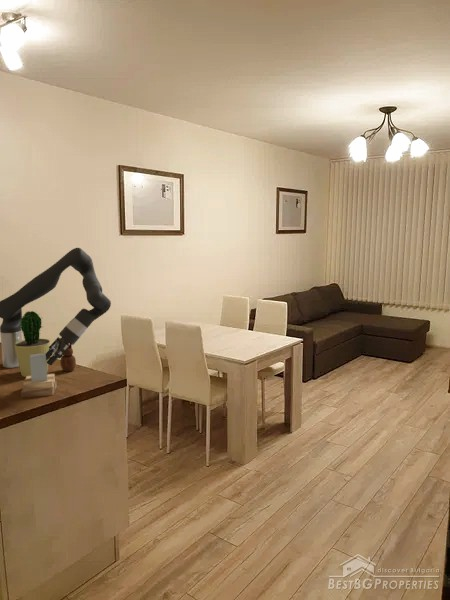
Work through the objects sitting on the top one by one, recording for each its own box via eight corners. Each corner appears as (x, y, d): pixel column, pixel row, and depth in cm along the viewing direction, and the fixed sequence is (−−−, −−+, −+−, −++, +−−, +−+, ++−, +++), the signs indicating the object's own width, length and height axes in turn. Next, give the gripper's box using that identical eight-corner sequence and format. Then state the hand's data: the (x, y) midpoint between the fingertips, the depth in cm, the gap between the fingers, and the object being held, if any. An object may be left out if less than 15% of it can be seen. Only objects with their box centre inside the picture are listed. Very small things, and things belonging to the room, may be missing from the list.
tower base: (27, 388, 193) (27, 381, 193) (57, 386, 196) (56, 379, 195) (21, 399, 181) (20, 391, 181) (52, 396, 184) (52, 389, 183)
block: (31, 378, 188) (29, 354, 187) (46, 376, 191) (45, 353, 189) (31, 382, 183) (29, 358, 181) (47, 380, 185) (46, 356, 184)
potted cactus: (22, 381, 200) (17, 314, 195) (12, 372, 212) (7, 309, 207) (57, 374, 210) (53, 310, 205) (46, 366, 222) (41, 305, 217)
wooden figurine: (78, 369, 216) (76, 339, 214) (70, 373, 211) (68, 342, 209) (66, 368, 219) (64, 338, 216) (58, 371, 213) (56, 340, 211)
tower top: (27, 382, 192) (26, 375, 191) (54, 380, 195) (54, 373, 194) (23, 391, 181) (23, 384, 181) (52, 388, 184) (52, 381, 184)
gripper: (84, 340, 187) (57, 371, 183) (76, 333, 199) (50, 362, 195) (70, 329, 184) (42, 360, 180) (62, 322, 196) (36, 352, 192)
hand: (46, 361), depth 187 cm, fingers open, 8 cm apart
